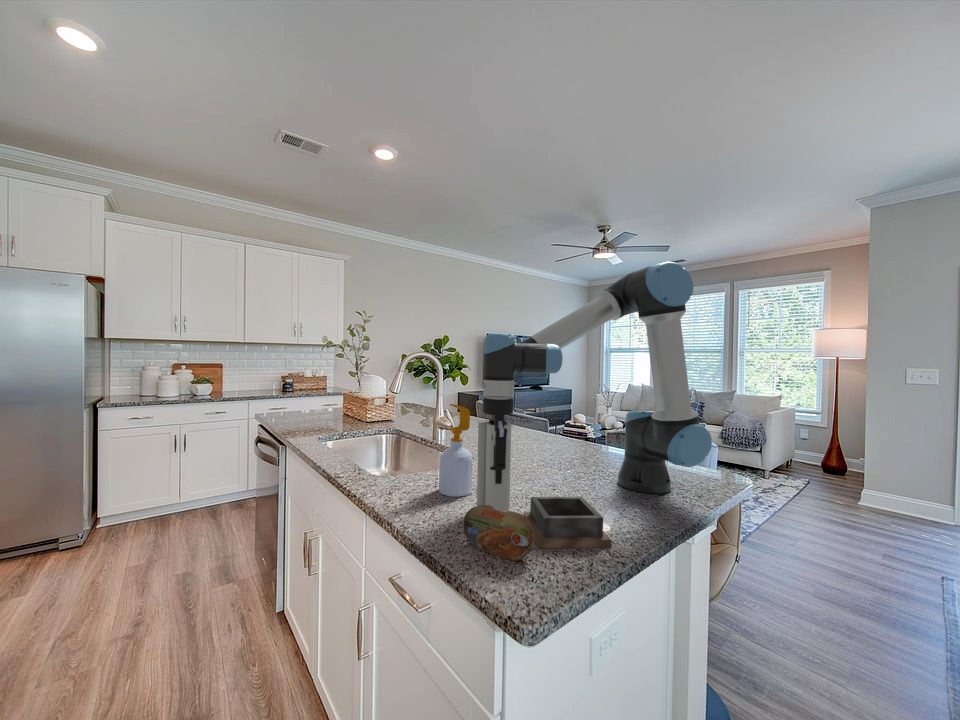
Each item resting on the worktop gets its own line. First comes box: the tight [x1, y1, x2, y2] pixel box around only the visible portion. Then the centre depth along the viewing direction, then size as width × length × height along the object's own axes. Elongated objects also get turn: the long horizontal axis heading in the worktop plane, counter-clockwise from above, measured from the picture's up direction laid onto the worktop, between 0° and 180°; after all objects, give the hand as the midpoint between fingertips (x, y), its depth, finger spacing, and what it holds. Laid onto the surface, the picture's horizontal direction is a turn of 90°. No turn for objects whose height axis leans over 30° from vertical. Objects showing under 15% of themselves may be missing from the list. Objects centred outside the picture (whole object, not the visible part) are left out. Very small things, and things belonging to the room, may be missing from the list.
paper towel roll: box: [476, 421, 512, 511], centre depth 98 cm, size 7×6×21 cm
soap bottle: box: [438, 403, 473, 498], centre depth 112 cm, size 9×9×25 cm
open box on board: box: [523, 496, 612, 549], centre depth 88 cm, size 15×15×6 cm
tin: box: [463, 505, 536, 562], centre depth 78 cm, size 15×3×8 cm, turn 56°
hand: (496, 492), depth 98 cm, fingers closed on paper towel roll, 3 cm apart
